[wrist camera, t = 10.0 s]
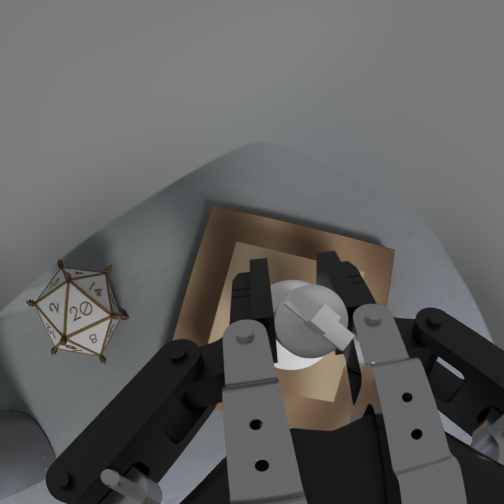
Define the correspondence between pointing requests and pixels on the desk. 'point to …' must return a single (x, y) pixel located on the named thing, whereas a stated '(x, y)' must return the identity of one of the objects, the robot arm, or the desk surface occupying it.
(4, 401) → the desk surface
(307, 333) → the chess piece
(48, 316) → the game die
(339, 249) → the walnut base
